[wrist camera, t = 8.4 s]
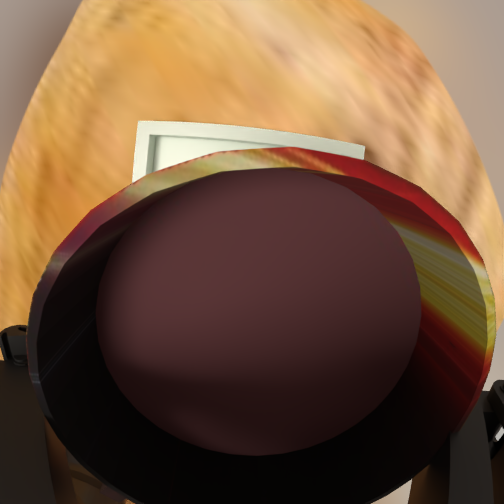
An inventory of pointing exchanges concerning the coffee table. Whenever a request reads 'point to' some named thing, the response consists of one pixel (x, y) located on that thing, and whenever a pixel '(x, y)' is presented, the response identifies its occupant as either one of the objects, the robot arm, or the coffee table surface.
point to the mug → (261, 332)
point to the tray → (217, 143)
